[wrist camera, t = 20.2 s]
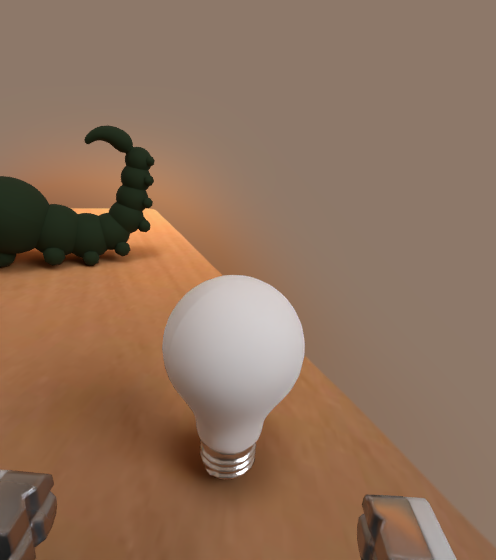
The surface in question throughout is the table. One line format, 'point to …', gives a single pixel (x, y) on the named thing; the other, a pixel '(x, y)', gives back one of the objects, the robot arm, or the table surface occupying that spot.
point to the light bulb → (232, 364)
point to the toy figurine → (68, 224)
